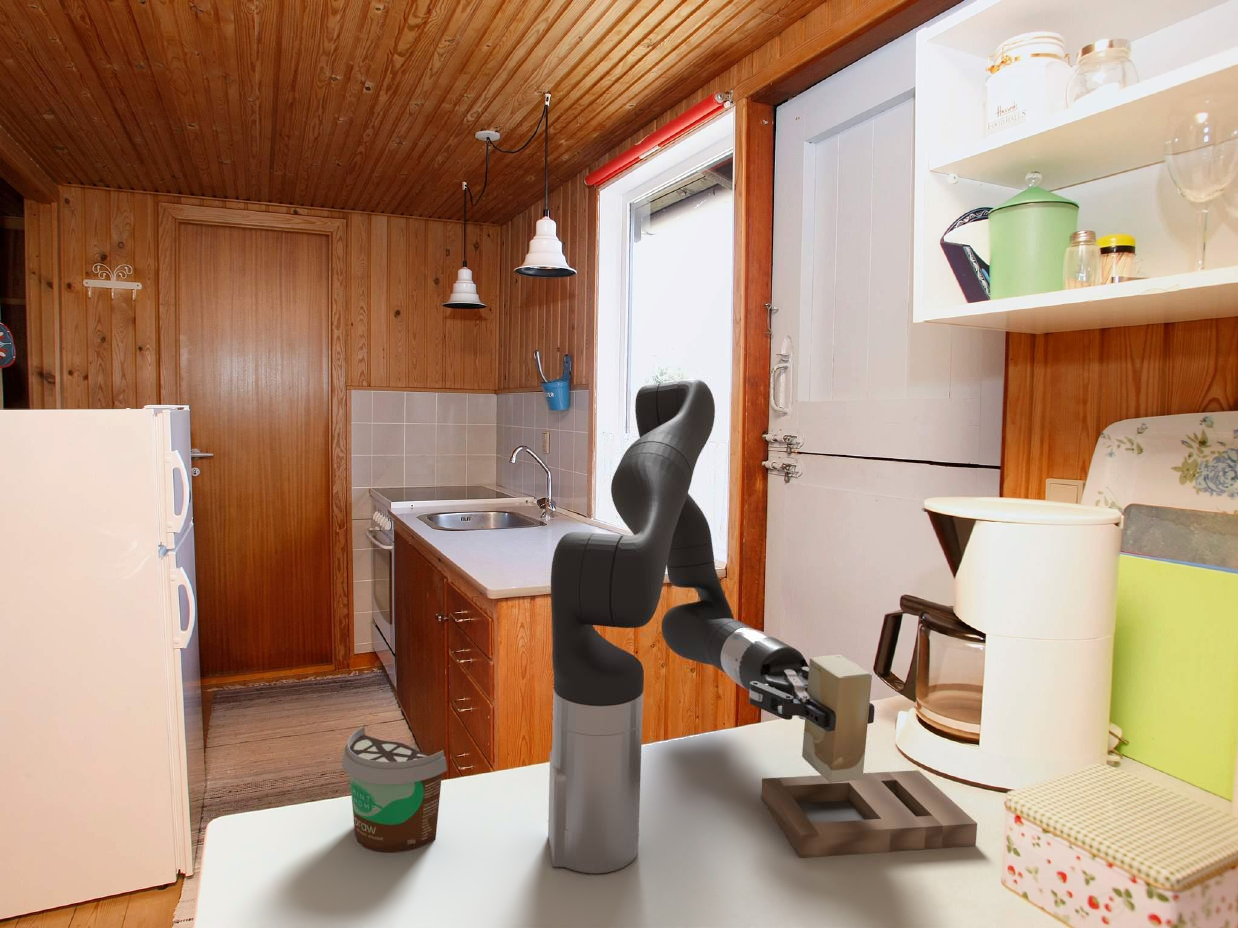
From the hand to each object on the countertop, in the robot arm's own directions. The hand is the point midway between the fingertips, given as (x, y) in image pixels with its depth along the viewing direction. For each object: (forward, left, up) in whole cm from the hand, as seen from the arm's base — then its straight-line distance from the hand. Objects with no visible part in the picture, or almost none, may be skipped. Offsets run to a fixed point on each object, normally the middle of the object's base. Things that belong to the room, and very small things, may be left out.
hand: (852, 718), depth 86 cm
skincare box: (-1, +3, -7) cm, 8 cm away
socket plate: (+3, +2, -13) cm, 14 cm away
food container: (-50, +4, -13) cm, 52 cm away
